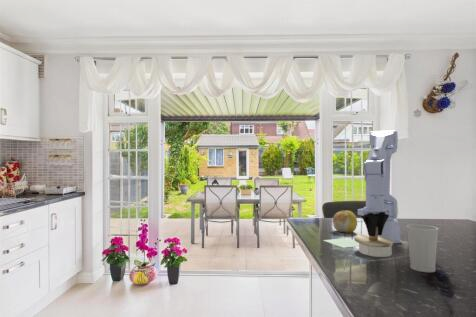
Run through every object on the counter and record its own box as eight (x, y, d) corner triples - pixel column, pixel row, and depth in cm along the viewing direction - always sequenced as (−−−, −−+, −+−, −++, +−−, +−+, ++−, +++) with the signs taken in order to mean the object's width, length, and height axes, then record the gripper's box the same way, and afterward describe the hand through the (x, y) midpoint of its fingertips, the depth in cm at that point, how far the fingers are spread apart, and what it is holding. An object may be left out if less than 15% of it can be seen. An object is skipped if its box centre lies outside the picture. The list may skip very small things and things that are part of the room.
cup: (428, 275, 86) (427, 230, 86) (401, 266, 93) (400, 225, 93) (445, 270, 90) (444, 228, 90) (417, 263, 97) (417, 223, 97)
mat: (347, 238, 129) (347, 237, 129) (369, 245, 118) (369, 244, 118) (322, 241, 124) (322, 240, 124) (343, 248, 113) (343, 247, 113)
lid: (369, 235, 116) (370, 221, 116) (400, 244, 105) (401, 229, 105) (346, 239, 110) (347, 224, 110) (376, 249, 100) (377, 232, 99)
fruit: (339, 229, 148) (339, 208, 148) (361, 233, 140) (361, 210, 140) (327, 232, 141) (327, 210, 141) (350, 236, 133) (350, 212, 133)
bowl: (375, 248, 113) (375, 238, 114) (398, 256, 104) (398, 245, 104) (353, 251, 110) (353, 241, 110) (374, 259, 101) (374, 248, 101)
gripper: (379, 193, 114) (379, 231, 114) (350, 195, 108) (350, 235, 107) (396, 195, 108) (397, 234, 108) (367, 196, 101) (367, 239, 101)
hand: (375, 235), depth 107 cm, fingers closed on lid, 3 cm apart
